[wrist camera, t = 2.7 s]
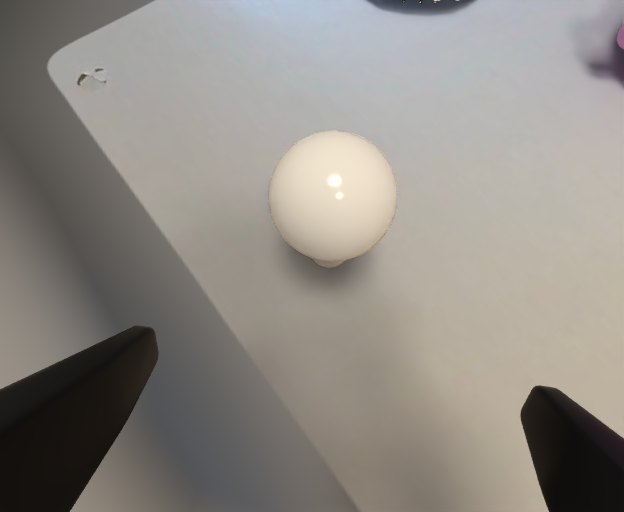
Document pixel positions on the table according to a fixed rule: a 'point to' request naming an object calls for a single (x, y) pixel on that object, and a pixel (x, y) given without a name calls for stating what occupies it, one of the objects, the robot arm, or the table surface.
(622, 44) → the teapot
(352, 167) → the lightbulb
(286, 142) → the table surface
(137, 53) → the table surface
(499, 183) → the table surface
